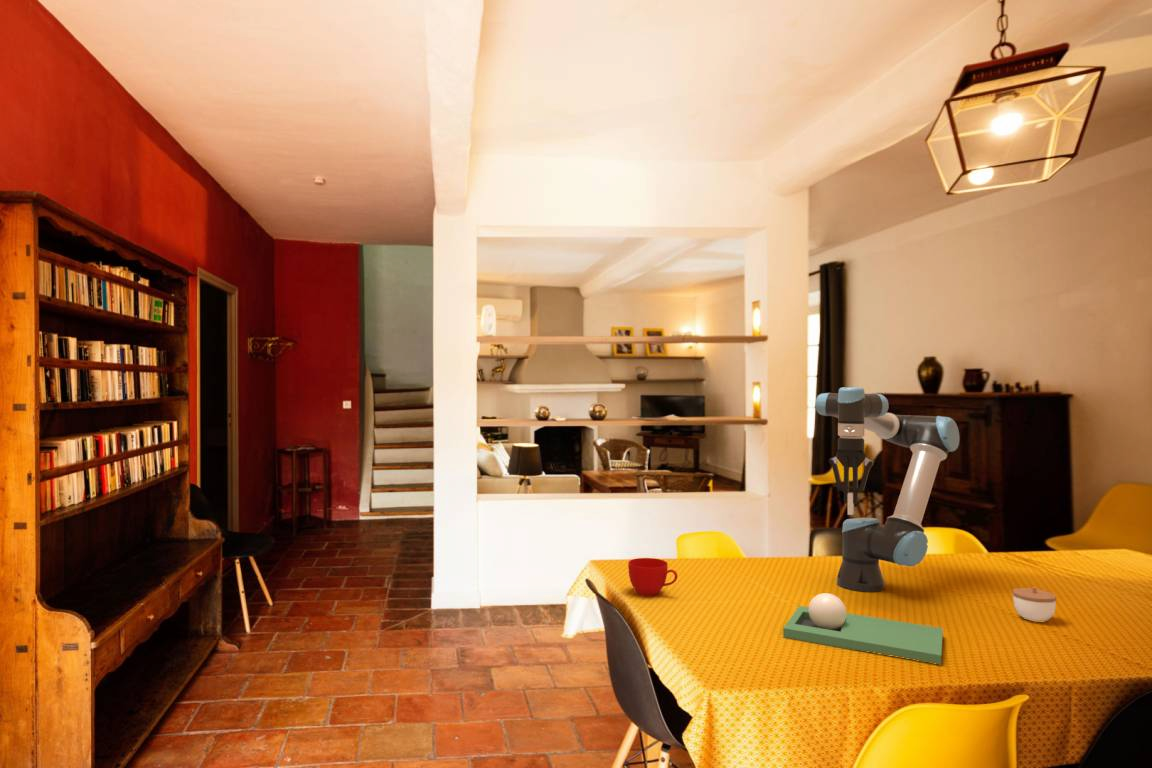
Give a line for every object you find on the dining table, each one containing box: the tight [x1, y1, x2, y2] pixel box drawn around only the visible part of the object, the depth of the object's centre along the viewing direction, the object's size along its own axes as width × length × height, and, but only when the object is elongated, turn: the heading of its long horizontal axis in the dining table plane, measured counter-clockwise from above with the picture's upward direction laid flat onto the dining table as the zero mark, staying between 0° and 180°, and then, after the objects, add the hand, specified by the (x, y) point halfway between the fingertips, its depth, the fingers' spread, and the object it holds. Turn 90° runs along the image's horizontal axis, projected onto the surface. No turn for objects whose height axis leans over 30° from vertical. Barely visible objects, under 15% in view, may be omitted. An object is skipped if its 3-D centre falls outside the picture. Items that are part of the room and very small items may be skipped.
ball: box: [808, 592, 847, 630], centre depth 192 cm, size 10×10×10 cm
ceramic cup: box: [627, 557, 678, 597], centre depth 225 cm, size 13×17×10 cm
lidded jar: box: [1012, 586, 1057, 622], centre depth 202 cm, size 11×11×9 cm
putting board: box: [782, 605, 944, 665], centre depth 187 cm, size 38×22×2 cm, turn 61°
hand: (850, 513), depth 210 cm, fingers closed
